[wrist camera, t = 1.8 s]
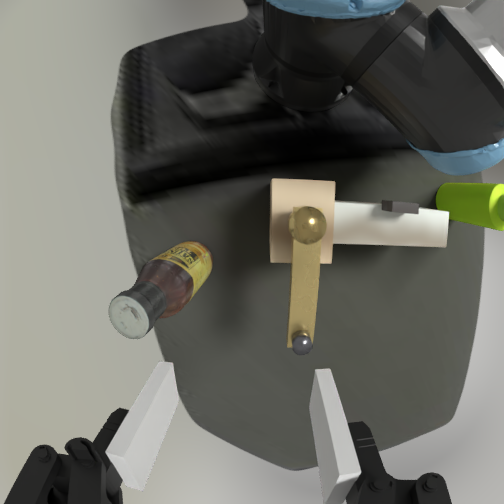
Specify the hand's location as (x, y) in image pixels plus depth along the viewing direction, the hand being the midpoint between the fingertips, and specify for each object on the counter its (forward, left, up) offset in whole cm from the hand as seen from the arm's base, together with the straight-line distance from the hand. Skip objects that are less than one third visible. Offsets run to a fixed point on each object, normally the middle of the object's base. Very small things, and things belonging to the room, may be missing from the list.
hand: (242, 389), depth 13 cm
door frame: (-7, +12, -27) cm, 30 cm away
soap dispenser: (-10, +30, -27) cm, 42 cm away
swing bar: (-2, +4, -13) cm, 14 cm away
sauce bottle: (0, -10, -27) cm, 29 cm away
